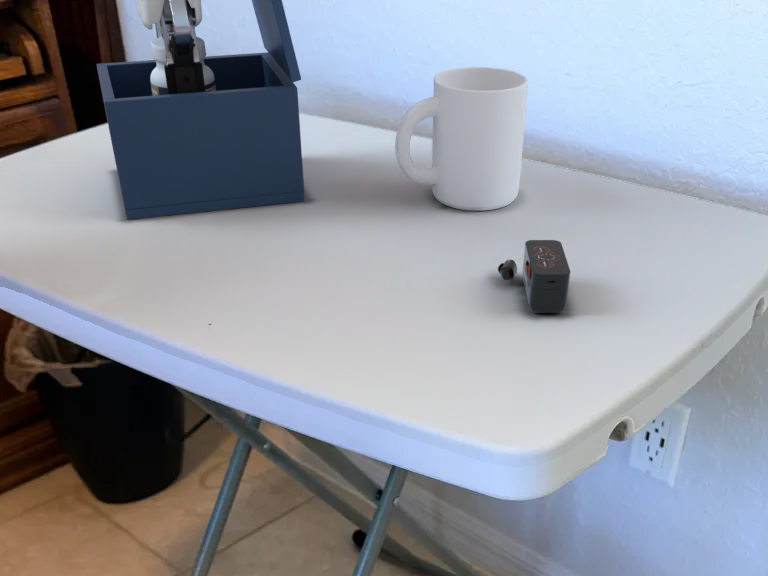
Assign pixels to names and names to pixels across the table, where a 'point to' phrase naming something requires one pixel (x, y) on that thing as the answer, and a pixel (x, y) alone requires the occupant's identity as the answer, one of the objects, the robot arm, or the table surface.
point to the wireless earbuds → (542, 275)
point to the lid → (277, 35)
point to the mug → (470, 137)
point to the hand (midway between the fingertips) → (185, 102)
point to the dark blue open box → (205, 138)
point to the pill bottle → (159, 56)
